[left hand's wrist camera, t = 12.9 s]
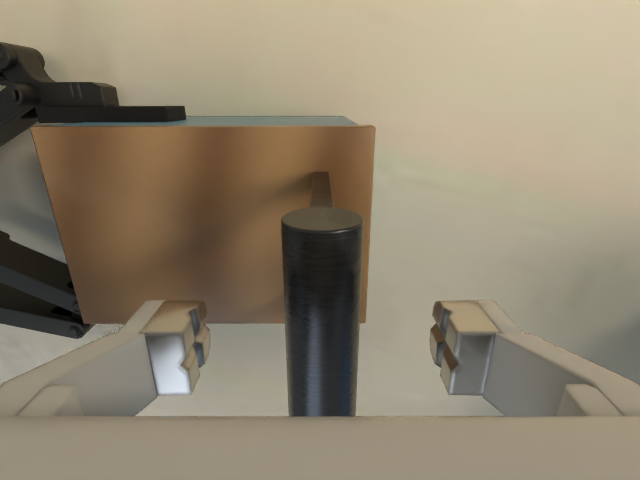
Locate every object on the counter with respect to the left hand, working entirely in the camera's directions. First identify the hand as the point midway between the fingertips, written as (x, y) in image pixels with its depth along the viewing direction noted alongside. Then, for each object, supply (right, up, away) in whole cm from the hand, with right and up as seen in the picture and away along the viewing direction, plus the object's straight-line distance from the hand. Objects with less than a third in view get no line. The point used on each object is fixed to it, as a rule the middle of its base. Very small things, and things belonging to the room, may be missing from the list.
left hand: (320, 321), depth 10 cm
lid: (-5, +3, +7) cm, 9 cm away
